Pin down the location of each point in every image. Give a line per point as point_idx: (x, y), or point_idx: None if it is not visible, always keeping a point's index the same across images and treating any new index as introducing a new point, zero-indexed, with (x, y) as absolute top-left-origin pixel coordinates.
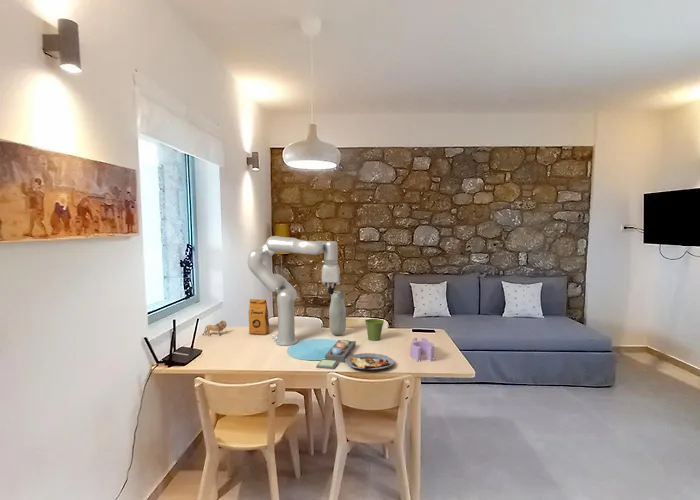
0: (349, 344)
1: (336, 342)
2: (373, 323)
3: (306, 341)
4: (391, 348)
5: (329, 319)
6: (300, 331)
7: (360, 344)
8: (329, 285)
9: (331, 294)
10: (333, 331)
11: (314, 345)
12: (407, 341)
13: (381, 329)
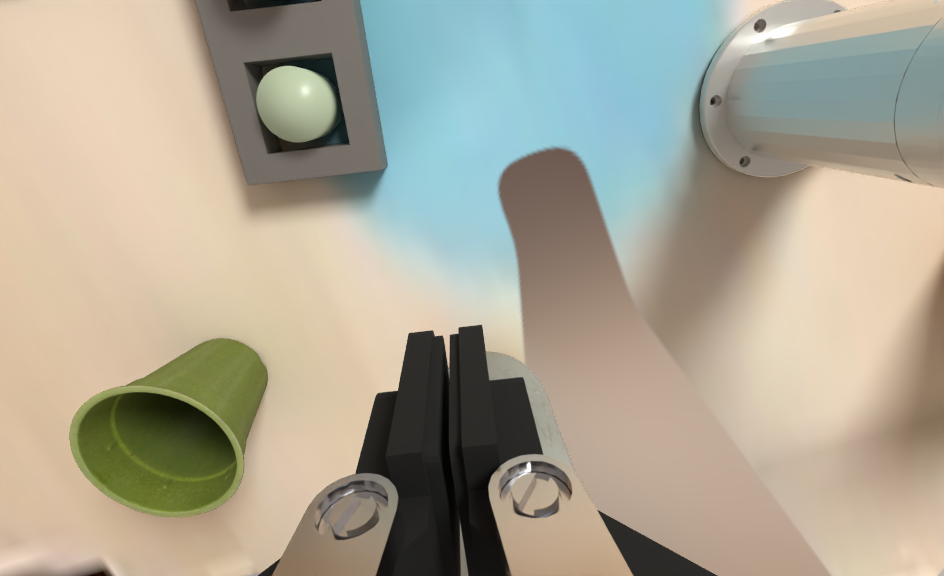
0: (247, 80)
1: (369, 99)
2: (121, 386)
3: (640, 175)
4: (15, 219)
5: (554, 421)
6: (744, 372)
7: (254, 235)
8: (502, 563)
9: (414, 333)
10: (501, 354)
11: (552, 98)
12: (16, 393)
13: (133, 411)
